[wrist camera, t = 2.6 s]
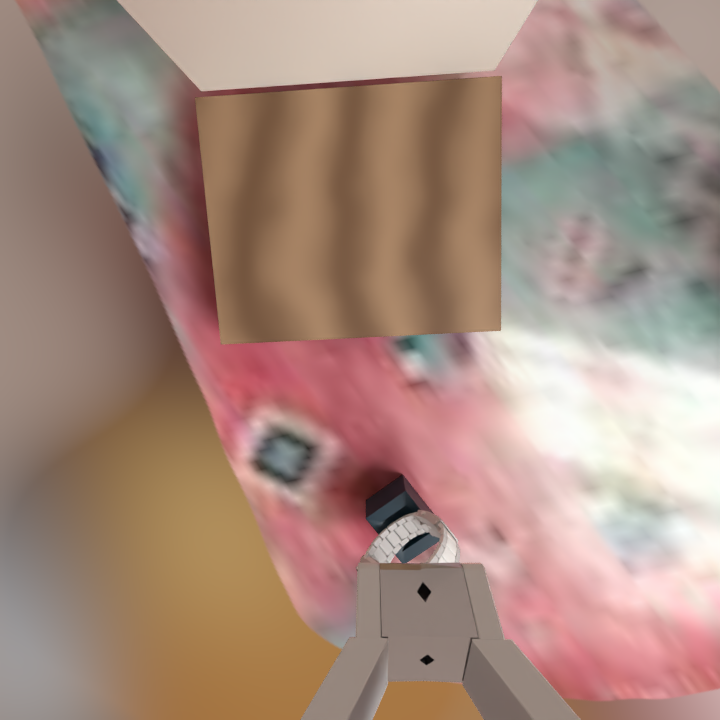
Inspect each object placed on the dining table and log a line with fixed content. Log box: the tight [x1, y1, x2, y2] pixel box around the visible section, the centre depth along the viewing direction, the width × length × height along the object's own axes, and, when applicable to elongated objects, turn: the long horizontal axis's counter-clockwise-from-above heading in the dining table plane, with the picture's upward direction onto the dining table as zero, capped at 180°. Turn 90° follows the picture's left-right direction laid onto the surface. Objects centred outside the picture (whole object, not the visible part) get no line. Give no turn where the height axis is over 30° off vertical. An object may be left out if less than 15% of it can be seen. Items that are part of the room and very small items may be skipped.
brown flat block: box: [195, 76, 502, 344], centre depth 31 cm, size 22×18×4 cm
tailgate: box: [117, 0, 538, 91], centre depth 22 cm, size 21×2×12 cm, turn 93°
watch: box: [356, 475, 460, 572], centre depth 32 cm, size 6×8×11 cm
